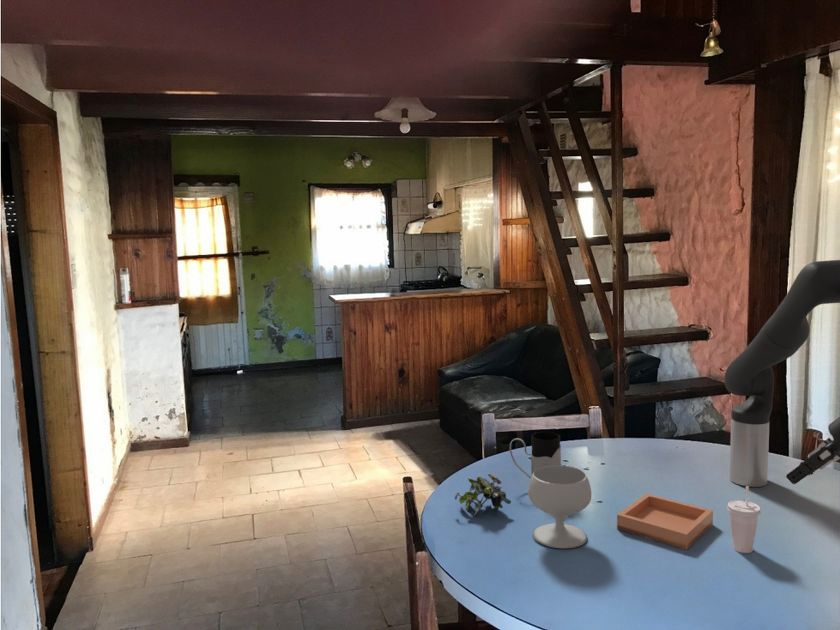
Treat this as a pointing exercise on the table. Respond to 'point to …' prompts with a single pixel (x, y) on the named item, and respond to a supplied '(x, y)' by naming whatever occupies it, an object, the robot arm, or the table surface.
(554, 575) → the table surface
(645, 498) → the dish
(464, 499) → the leafy green plant
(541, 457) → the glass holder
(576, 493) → the chalice
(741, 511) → the smoothie
